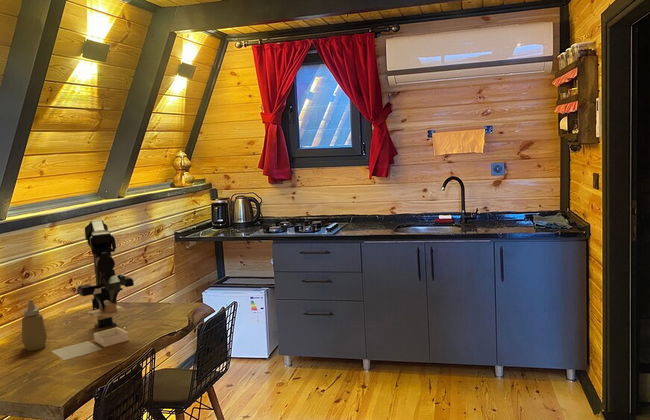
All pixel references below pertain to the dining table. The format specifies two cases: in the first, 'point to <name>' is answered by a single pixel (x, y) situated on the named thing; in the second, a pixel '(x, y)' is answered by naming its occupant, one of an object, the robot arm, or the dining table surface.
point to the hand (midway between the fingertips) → (108, 309)
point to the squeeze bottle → (33, 328)
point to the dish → (111, 336)
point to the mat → (76, 350)
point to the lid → (108, 311)
